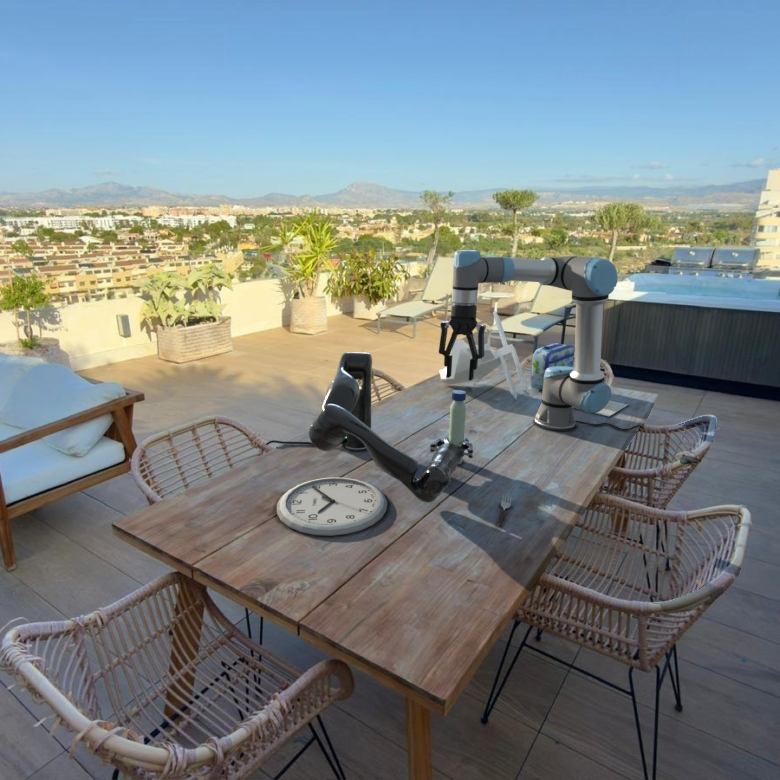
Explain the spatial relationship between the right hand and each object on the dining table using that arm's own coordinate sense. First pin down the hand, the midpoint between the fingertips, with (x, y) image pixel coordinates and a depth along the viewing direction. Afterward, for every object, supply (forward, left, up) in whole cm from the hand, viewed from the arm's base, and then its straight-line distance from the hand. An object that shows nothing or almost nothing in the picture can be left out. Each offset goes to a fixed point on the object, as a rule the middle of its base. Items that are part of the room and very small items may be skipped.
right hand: (459, 377), depth 163 cm
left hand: (-1, -3, -22) cm, 22 cm away
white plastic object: (-11, -77, -28) cm, 83 cm away
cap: (0, 0, -5) cm, 5 cm away
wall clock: (+33, +34, -28) cm, 55 cm away
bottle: (0, 0, -28) cm, 28 cm away
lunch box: (-46, -91, -28) cm, 106 cm away
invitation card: (-63, -65, -28) cm, 95 cm away
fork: (-13, +32, -28) cm, 44 cm away
